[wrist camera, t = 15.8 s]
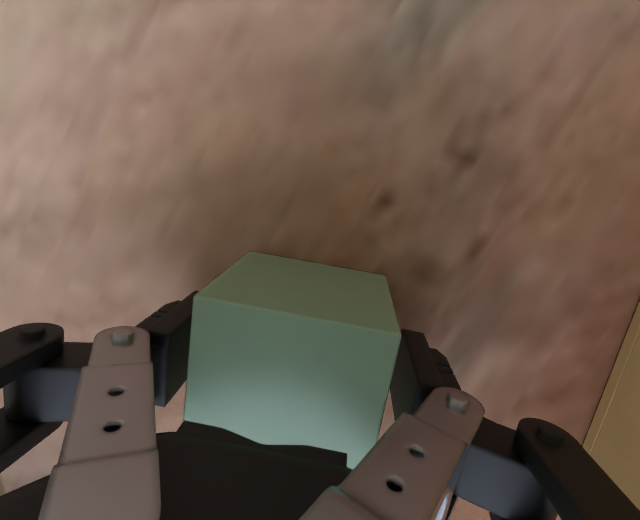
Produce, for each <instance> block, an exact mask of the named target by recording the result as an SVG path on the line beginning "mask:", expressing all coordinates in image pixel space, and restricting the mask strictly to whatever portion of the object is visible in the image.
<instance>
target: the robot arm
mask: <svg viewBox="0 0 640 520" xmlns="http://www.w3.org/2000/svg"><path fill="white" fill-rule="evenodd" d="M198 292H199V291H194V292H193V293H191V294H190V295H189V296H188V297H186V298H185V299H184V300H182V301H179V300H178V301H175V302H172V303H169V304H166V305H164V306H163V307H161V308H160V309H159V310H158V311H157V312H154V313H153V314H152V315H151V317H150V316H149V317H148V318H146V319H145V320H143V321H142V322H141V323H139V324H138V325H136V326H135V327H133V326H119V327H112V328H108V329H105V330H103V331H101V332H99V333H98V334H97V335H96V336H95V338H94V341H93V343H82V342H64V330H63V328H62V327H60V326H58V325H55V324H51V323H30V324H23V325H19V326H15V327H12V328H10V329H7V330H5V331H2V332H0V389H1V388H2V387H3V394H4V407H3V408H1V409H0V473H1V472H2V471H4V470H5V469H6V468H7V467H9V466H10V465H11V464H13V463H14V462H15V461H16V460H18V459H19V458H20V457H22V456H23V455H24V454H25V453H27V452H28V451H29V450H31V449H32V448H33V447H34V446H36V445H37V444H38V443H40V442H41V441H42V440H43V439H45V438H46V437H47V436H49V435H50V434H51V433H52V432H54V431H55V430H56V429H57V428H59V427H60V426H61V424H62V423H63V421H68V425H67V429H66V433H65V437H64V441H63V444H62V448H61V452H60V456H59V460H58V463H57V465H54V467H53V468H52V471H51V474H50V475H48V476H46V477H43V478H41V479H39V480H36V481H34V482H32V483H29V484H27V485H25V486H22V487H20V488H18V489H16V490H13V491H11V492H9V493H6V494H4V495H2V496H0V520H450V517H451V515H452V513H453V510H454V508H455V505H456V503H457V501H458V498H459V497H460V498H462V499H464V500H466V501H468V502H470V503H473V504H475V505H477V506H479V507H481V508H483V509H486V510H488V511H490V518H491V520H555V519H556V517H557V514H559V516H560V518H561V520H640V510H639V509H638V508H637V507H636V506H635V505H634V504H633V503H632V502H631V500H630V499H629V498H628V497H627V496H626V495H625V494H624V493H623V492H622V490H621V489H620V488H619V487H618V486H617V485H616V484H615V483H614V482H613V480H612V479H611V478H610V477H609V476H608V475H607V474H606V473H605V472H604V470H603V469H602V468H601V467H600V466H599V465H598V464H597V463H596V462H595V460H594V459H593V458H592V457H591V456H590V455H589V454H588V453H587V451H586V450H585V449H584V448H583V447H582V446H581V445H580V444H579V443H578V441H577V440H576V439H575V438H574V437H573V436H571V435H570V434H569V433H568V432H566V431H565V430H563V429H561V428H560V427H558V426H556V425H554V424H552V423H550V422H547V421H544V420H541V419H537V418H523V419H521V420H520V421H519V424H518V427H517V430H513V429H510V428H508V427H505V426H503V425H500V424H497V423H495V422H493V421H490V420H488V419H486V418H485V417H484V413H485V409H484V407H483V405H482V404H481V403H480V402H479V401H478V400H477V399H476V398H474V397H473V396H471V395H470V394H468V393H466V392H464V391H462V390H461V388H460V386H459V384H458V382H457V380H456V378H455V375H453V371H452V369H451V368H450V365H449V363H448V361H447V358H446V357H445V356H444V355H443V354H441V353H440V352H439V351H438V350H437V349H433V348H429V346H428V343H427V341H426V338H425V336H424V334H423V333H421V332H415V331H410V330H405V329H402V330H401V340H400V345H399V349H398V353H397V358H396V362H395V366H394V371H393V375H392V379H391V383H390V392H391V398H392V405H393V411H394V418H395V422H394V423H393V424H392V425H391V426H390V428H389V429H388V430H387V431H386V432H385V433H384V435H383V436H382V437H381V438H380V439H379V440H378V441H377V443H376V444H375V445H374V446H373V447H372V448H371V450H370V451H369V452H368V453H367V454H366V455H365V456H364V458H363V459H362V460H361V461H360V462H359V463H358V465H357V466H356V467H355V468H354V469H351V468H349V467H347V453H343V452H338V451H333V450H328V449H323V448H318V447H314V446H309V445H266V444H260V443H257V442H255V441H253V440H250V439H248V438H246V437H243V436H241V435H238V434H236V433H234V432H231V431H229V430H227V429H224V428H220V427H215V426H210V425H205V424H201V423H196V422H191V421H186V420H184V421H183V423H182V424H181V426H180V427H179V429H178V430H177V431H176V432H164V433H156V425H155V405H157V406H162V407H165V406H166V405H167V403H168V402H169V401H170V400H171V398H172V397H173V396H174V395H175V393H176V392H177V391H178V390H179V388H180V387H181V386H182V385H183V383H184V382H185V381H186V380H187V369H188V357H189V345H190V333H191V321H192V309H193V297H194V295H196V294H197V293H198Z"/></svg>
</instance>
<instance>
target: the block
mask: <svg viewBox="0 0 640 520" xmlns="http://www.w3.org/2000/svg"><path fill="white" fill-rule="evenodd" d="M400 340H401V332H400V328H399V324H398V321H397V317H396V313H395V309H394V305H393V302H392V298H391V294H390V290H389V286H388V283H387V279H386V276H385V275H380V274H374V273H369V272H363V271H358V270H352V269H347V268H341V267H336V266H330V265H324V264H319V263H313V262H308V261H302V260H297V259H291V258H285V257H280V256H274V255H269V254H263V253H258V252H252V251H250V252H248V253H247V254H246V255H245V256H243V257H242V258H241V259H240V260H238V261H237V262H236V263H235V264H233V265H232V266H231V267H229V268H228V269H227V270H226V271H224V272H223V273H222V274H221V275H219V276H218V277H217V278H216V279H214V280H213V281H212V282H211V283H209V284H208V285H207V286H206V287H204V288H203V289H202V290H201V291H199V292H198V293H197V294H196V295H194V297H193V309H192V321H191V333H190V345H189V357H188V369H187V382H186V394H185V406H184V418H183V421H184V420H186V421H191V422H196V423H201V424H205V425H210V426H215V427H220V428H224V429H227V430H229V431H231V432H234V433H236V434H238V435H241V436H243V437H246V438H248V439H250V440H253V441H255V442H257V443H260V444H266V445H309V446H314V447H318V448H323V449H328V450H333V451H338V452H343V453H347V467H349V468H351V469H354V468H355V467H356V466H357V465H358V463H359V462H360V461H361V460H362V459H363V458H364V456H365V455H366V454H367V453H368V452H369V451H370V450H371V448H372V447H373V446H374V445H375V444H376V443H377V439H378V435H379V431H380V426H381V422H382V418H383V414H384V409H385V405H386V401H387V396H388V392H389V388H390V383H391V379H392V375H393V371H394V366H395V362H396V358H397V353H398V349H399V345H400Z"/></svg>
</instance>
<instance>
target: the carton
mask: <svg viewBox="0 0 640 520" xmlns="http://www.w3.org/2000/svg"><path fill="white" fill-rule="evenodd" d="M582 447H583V448H584V449H585V450H586V451H587V453H588V454H589V455H590V456H591V457H592V458H593V459H594V460H595V462H596V463H597V464H598V465H599V466H600V467H601V468H602V469H603V470H604V472H605V473H606V474H607V475H608V476H609V477H610V478H611V479H612V480H613V482H614V483H615V484H616V485H617V486H618V487H619V488H620V489H621V490H622V492H623V493H624V494H625V495H626V496H627V497H628V498H629V499H630V500H631V502H632V503H633V504H634V505H635V506H636V507H637V508H638V509H639V510H640V301H639V303H638V306H637V308H636V311H635V313H634V316H633V318H632V321H631V323H630V326H629V329H628V331H627V334H626V336H625V339H624V341H623V344H622V346H621V349H620V351H619V354H618V357H617V359H616V362H615V364H614V367H613V369H612V372H611V374H610V377H609V380H608V382H607V385H606V387H605V390H604V392H603V395H602V397H601V400H600V402H599V405H598V408H597V410H596V413H595V415H594V418H593V420H592V423H591V425H590V428H589V430H588V433H587V436H586V438H585V441H584V443H583V446H582Z"/></svg>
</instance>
